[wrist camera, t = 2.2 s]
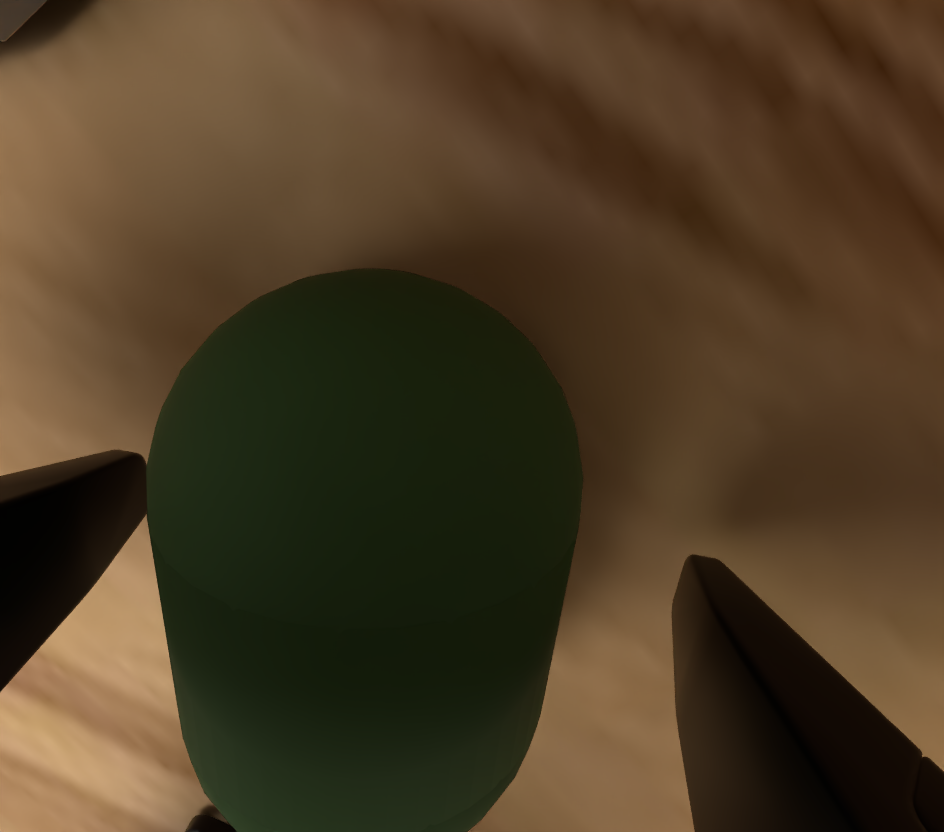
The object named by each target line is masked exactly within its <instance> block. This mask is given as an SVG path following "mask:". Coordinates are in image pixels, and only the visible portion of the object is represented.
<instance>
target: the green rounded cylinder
mask: <svg viewBox="0 0 944 832" xmlns="http://www.w3.org/2000/svg"><path fill="white" fill-rule="evenodd" d="M146 486H147V521H148V527H149V533H150V539H151V545H152V552H153V558H154V564H155V570H156V576H157V582H158V589H159V595H160V601H161V607H162V613H163V620H164V626H165V632H166V638H167V644H168V650H169V657H170V663H171V669H172V675H173V681H174V687H175V694H176V700H177V706H178V712H179V718H180V724H181V730H182V735H183V739H184V742H185V745H186V748H187V751H188V754H189V757H190V760H191V763H192V765H193V767H194V770H195V772H196V774H197V777H198V779H199V781H200V784H201V786H202V788H203V791H204V793H205V794H206V795H207V797H208V798H209V799H210V800H211V802H212V803H213V804H214V805H215V807H216V808H217V809H218V810H219V811H220V813H221V814H222V815H223V816H224V818H225V819H226V820H227V821H228V822H229V823H230V825H231V826H232V827H233V828H234V829H235V830H236V831H237V832H467V831H469V830H470V829H471V828H472V827H473V826H475V825H476V824H477V823H478V822H479V821H481V819H482V818H483V817H484V816H485V815H486V813H487V812H488V811H489V810H490V808H491V807H492V806H493V805H494V803H495V802H496V801H497V800H498V798H499V797H500V796H501V795H502V793H503V792H504V791H505V789H506V788H507V787H508V786H509V784H510V783H511V782H512V780H513V779H514V778H515V776H516V774H517V772H518V770H519V768H520V766H521V764H522V761H523V759H524V757H525V755H526V753H527V751H528V749H529V746H530V744H531V741H532V738H533V735H534V733H535V730H536V727H537V724H538V720H539V717H540V714H541V709H542V704H543V699H544V694H545V690H546V685H547V680H548V675H549V670H550V665H551V660H552V655H553V650H554V645H555V640H556V636H557V631H558V626H559V621H560V616H561V611H562V606H563V601H564V596H565V591H566V587H567V582H568V577H569V572H570V567H571V562H572V557H573V552H574V547H575V542H576V538H577V533H578V527H579V520H580V513H581V501H582V489H583V472H582V465H581V458H580V451H579V444H578V438H577V432H576V426H575V422H574V419H573V417H572V414H571V411H570V409H569V406H568V404H567V401H566V398H565V396H564V393H563V390H562V388H561V386H560V385H559V383H558V381H557V380H556V378H555V377H554V375H553V374H552V372H551V371H550V369H549V368H548V366H547V365H546V363H545V362H544V360H543V359H542V357H541V356H540V354H539V353H538V351H537V350H536V348H535V347H534V345H533V344H532V343H531V342H530V341H529V340H528V339H527V338H526V337H525V336H524V335H523V334H522V333H521V332H520V331H519V330H518V329H517V328H516V327H515V326H514V325H513V324H512V323H510V322H509V321H508V320H507V319H506V318H505V317H504V316H503V315H502V314H500V313H499V312H498V311H497V310H495V309H493V308H492V307H490V306H488V305H487V304H485V303H483V302H482V301H480V300H478V299H477V298H475V297H473V296H472V295H470V294H468V293H467V292H465V291H463V290H461V289H459V288H457V287H455V286H452V285H449V284H447V283H443V282H440V281H437V280H433V279H430V278H427V277H423V276H420V275H417V274H413V273H409V272H404V271H397V270H389V269H352V270H345V271H339V272H333V273H327V274H320V275H315V276H310V277H306V278H303V279H300V280H297V281H295V282H293V283H290V284H288V285H286V286H284V287H281V288H279V289H277V290H274V291H272V292H270V293H267V294H265V295H263V296H261V297H259V298H257V299H256V300H254V301H252V302H251V303H249V304H248V305H247V306H245V307H244V308H243V309H241V310H240V311H239V312H237V313H236V314H235V315H233V316H232V317H231V318H229V319H228V320H227V321H225V322H224V323H222V324H221V325H220V326H218V327H217V329H216V330H215V331H214V332H213V333H212V334H211V335H210V336H209V337H208V338H207V340H206V341H205V342H204V343H203V344H202V346H201V347H200V348H199V349H198V350H197V352H196V353H195V354H194V355H193V356H192V357H191V359H190V360H189V361H188V362H187V363H186V365H185V366H184V367H183V368H182V369H181V371H180V373H179V375H178V377H177V379H176V381H175V383H174V385H173V387H172V389H171V391H170V393H169V395H168V397H167V399H166V401H165V402H164V404H163V406H162V409H161V412H160V415H159V418H158V421H157V424H156V427H155V431H154V435H153V440H152V444H151V449H150V453H149V457H148V462H147V466H146Z"/></svg>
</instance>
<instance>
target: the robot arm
mask: <svg viewBox="0 0 944 832" xmlns="http://www.w3.org/2000/svg"><path fill="white" fill-rule="evenodd" d="M146 514H147V486H146V461H145V459H144V458H143V456H142V455H140V454H138V453H134V452H129V451H123V450H110V451H106V452H102V453H98V454H93V455H89V456H85V457H80V458H76V459H72V460H67V461H63V462H59V463H55V464H50V465H46V466H42V467H37V468H33V469H29V470H24V471H20V472H16V473H11V474H7V475H3V476H0V692H1V691H2V690H3V688H4V687H5V686H6V685H7V684H8V683H9V682H10V681H11V679H12V678H13V677H14V676H15V675H16V674H17V673H18V672H19V670H20V669H21V668H22V667H23V666H24V665H25V664H26V662H27V661H28V660H29V659H30V658H31V657H32V656H33V655H34V653H35V652H36V651H37V650H38V649H39V648H40V647H41V646H42V644H43V643H44V642H45V641H46V640H47V639H48V638H49V637H50V635H51V634H52V633H53V632H54V631H55V630H56V629H57V628H58V626H59V625H60V624H61V623H62V622H63V621H64V620H65V619H66V617H67V616H68V615H69V614H70V613H71V612H72V611H73V610H74V608H75V607H76V606H77V605H78V604H79V603H80V602H81V600H82V599H83V598H84V597H85V596H86V595H87V593H88V592H89V591H90V590H91V589H92V587H93V586H94V585H95V583H96V582H97V581H98V580H99V578H100V577H101V576H102V574H103V573H104V571H105V570H106V569H107V567H108V566H109V565H110V563H111V562H112V561H113V559H114V558H115V556H116V555H117V554H118V552H119V551H120V550H121V548H122V547H123V546H124V544H125V543H126V541H127V540H128V539H129V537H130V536H131V535H132V533H133V532H134V531H135V529H136V528H137V526H138V525H139V524H140V522H141V521H142V520H143V518H144V517H145V515H146ZM672 635H673V659H674V682H675V703H676V717H677V725H678V732H679V738H680V744H681V751H682V757H683V763H684V769H685V775H686V781H687V787H688V794H689V800H690V806H691V812H692V818H693V824H694V830H695V832H944V772H943V771H942V770H941V769H940V768H939V767H938V766H937V765H936V764H935V763H934V762H933V761H932V760H931V759H930V758H928V757H922V752H921V750H920V749H919V748H918V747H917V746H916V745H915V744H914V743H913V742H912V741H910V740H909V739H908V738H907V737H906V736H905V735H904V734H903V733H902V732H901V731H900V730H899V729H898V728H897V727H896V726H895V725H894V724H893V723H891V722H890V721H889V720H888V719H887V718H886V717H885V716H884V715H883V714H882V713H881V712H880V711H879V710H878V709H877V708H876V707H875V706H873V705H872V704H871V703H870V702H869V701H868V700H867V699H866V698H865V697H864V696H863V695H862V694H861V693H860V692H859V691H858V690H857V689H856V688H854V687H853V686H852V685H851V684H850V683H849V682H848V681H847V680H846V679H845V678H844V677H843V676H842V675H841V674H840V673H839V672H838V671H837V670H835V669H834V668H833V667H832V666H831V665H830V664H829V663H828V662H827V661H826V660H825V659H824V658H823V657H822V656H821V655H820V654H819V653H818V652H816V651H815V650H814V649H813V648H812V647H811V646H810V645H809V644H808V643H807V642H806V641H805V640H804V639H803V638H802V637H801V636H800V635H799V634H797V633H796V632H795V631H794V630H793V629H792V628H791V627H790V626H789V625H788V624H787V623H786V622H785V621H784V620H783V619H782V618H781V617H779V616H778V615H777V614H776V613H775V612H774V611H773V610H772V609H771V608H770V607H769V606H768V605H767V604H766V603H765V602H764V601H763V600H762V599H760V598H759V597H758V596H757V595H756V594H755V593H754V592H753V591H752V590H751V589H750V588H749V587H748V586H747V585H746V584H745V583H744V582H743V581H741V580H740V579H739V578H738V577H737V576H736V575H735V574H734V573H733V572H732V571H731V570H730V569H729V568H728V567H727V566H726V565H725V564H724V563H722V562H721V561H720V560H718V559H716V558H711V557H705V556H699V555H689V556H688V557H687V559H686V560H685V563H684V566H683V569H682V572H681V576H680V579H679V582H678V586H677V589H676V592H675V596H674V599H673V604H672ZM185 832H237V831H236V830H235V829H234V828H233V827H232V826H231V825H229V824H227V823H225V822H223V821H220V820H218V819H216V818H214V817H211V816H209V815H202V814H200V815H196V816H195V817H194V818H193V819H192V821H191V822H190V824H189V826H188V827H187V829H186V831H185Z"/></svg>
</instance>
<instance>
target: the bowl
mask: <svg viewBox="0 0 944 832" xmlns="http://www.w3.org/2000/svg"><path fill="white" fill-rule="evenodd" d="M47 1H48V0H0V42H3V41H6V40H8V39H9V38H10V37H11V36H12V35H13V34H14V33H15V32H16V31H17V30H18V29H19V28H20V27H21V26H22V25H23V24H24V23H25V22H26V21H28V20H29V19H30V18H31V17H32V16H33V15H34V14H35V13H36V12H37V11H38V10H39V9H40V8H41V7H42V6H43V5H44V4H45V3H46V2H47Z"/></svg>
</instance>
